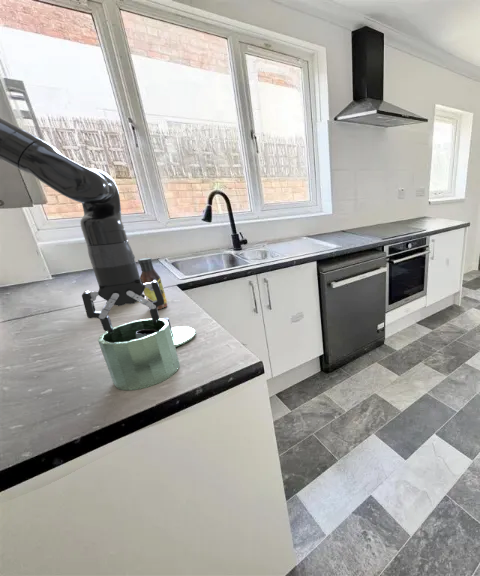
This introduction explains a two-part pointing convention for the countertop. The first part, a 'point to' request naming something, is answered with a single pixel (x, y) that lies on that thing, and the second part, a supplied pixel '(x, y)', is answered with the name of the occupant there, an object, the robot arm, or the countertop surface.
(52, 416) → the countertop surface
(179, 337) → the tin lid
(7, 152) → the robot arm
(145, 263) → the sauce bottle
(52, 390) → the countertop surface
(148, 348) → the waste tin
